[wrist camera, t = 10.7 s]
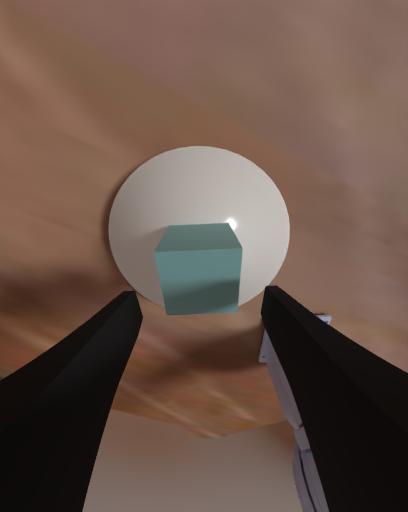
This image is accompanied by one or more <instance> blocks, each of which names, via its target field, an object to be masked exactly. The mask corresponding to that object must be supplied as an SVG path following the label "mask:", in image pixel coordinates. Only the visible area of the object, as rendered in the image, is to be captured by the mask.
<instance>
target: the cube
mask: <svg viewBox="0 0 408 512" xmlns="http://www.w3.org/2000/svg"><path fill="white" fill-rule="evenodd" d="M242 251H243V248H242V246H241V244H240V242H239V241H238V239H237V237H236V235H235V233H234V231H233V230H232V228H231V226H230V224H229V223H213V224H191V225H169V226H168V228H167V230H166V232H165V233H164V235H163V237H162V239H161V240H160V242H159V244H158V245H157V247H156V249H155V251H154V256H155V261H156V266H157V270H158V275H159V280H160V285H161V289H162V294H163V299H164V304H165V308H166V313H167V315H184V314H207V313H229V312H238V300H239V287H240V275H241V263H242Z"/></svg>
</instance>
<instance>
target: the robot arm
mask: <svg viewBox="0 0 408 512" xmlns="http://www.w3.org/2000/svg"><path fill="white" fill-rule="evenodd" d="M261 316H262V319H263V323H264V326H265V331H264V335H263V340H262V345H261V349H260V354H259V362H262V363H263V362H266V364H267V367H268V370H269V373H270V376H271V378H272V381H273V384H274V387H275V390H276V393H277V396H278V399H279V402H280V405H281V408H282V410H283V412H284V414H285V416H286V418H287V420H288V421H289V422H290V424H291V425H292V426H293V427H294V428H295V429H296V430H294V431H293V432H294V435H295V437H296V440H297V443H296V444H295V445H294V448H293V461H292V462H293V463H292V465H293V474H294V480H295V485H296V489H297V493H298V497H299V500H300V503H301V507H302V510H303V512H408V373H406V372H405V371H403V370H401V369H399V368H398V367H396V366H394V365H392V364H390V363H389V362H387V361H385V360H383V359H382V358H380V357H378V356H377V355H375V354H373V353H372V352H370V351H368V350H367V349H365V348H364V347H362V346H360V345H359V344H357V343H356V342H354V341H352V340H351V339H349V338H348V337H346V336H345V335H343V334H342V333H340V332H339V331H337V330H336V329H334V328H333V327H331V326H330V325H329V323H330V321H331V317H330V315H314V314H313V313H312V312H310V311H309V310H308V309H306V308H305V307H304V306H303V305H301V304H300V303H299V302H297V301H296V300H295V299H294V298H292V297H291V296H290V295H288V294H287V293H286V292H285V291H283V290H282V289H281V288H279V287H278V286H265V292H264V297H263V303H262V308H261ZM142 319H143V316H142V312H141V309H140V306H139V302H138V299H137V296H136V292H135V291H124V292H122V293H121V294H120V295H118V296H117V297H116V298H115V299H113V300H112V301H111V302H110V303H109V304H107V305H106V306H105V307H104V308H102V309H101V310H100V311H99V312H98V313H96V314H95V315H94V316H93V317H91V318H90V319H89V320H88V321H86V322H85V323H84V324H82V325H81V326H80V327H78V328H77V329H76V330H75V331H73V332H72V333H71V334H69V335H68V336H67V337H65V338H64V339H63V340H61V341H60V342H59V343H57V344H56V345H54V346H53V347H51V348H50V349H49V350H47V351H46V352H44V353H43V354H41V355H40V356H38V357H37V358H35V359H34V360H32V361H31V362H29V363H28V364H26V365H25V366H23V367H22V368H20V369H18V370H17V371H15V372H14V373H12V374H10V375H9V376H7V377H6V378H4V379H2V380H1V381H0V512H82V510H83V506H84V502H85V498H86V493H87V490H88V486H89V482H90V478H91V475H92V471H93V467H94V463H95V460H96V456H97V453H98V449H99V445H100V442H101V438H102V435H103V431H104V428H105V425H106V421H107V418H108V414H109V412H110V409H111V405H112V402H113V399H114V396H115V393H116V390H117V387H118V384H119V382H120V379H121V377H122V374H123V372H124V369H125V367H126V364H127V362H128V359H129V357H130V355H131V352H132V350H133V347H134V345H135V342H136V340H137V337H138V334H139V330H140V327H141V323H142Z"/></svg>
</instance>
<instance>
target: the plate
mask: <svg viewBox="0 0 408 512" xmlns="http://www.w3.org/2000/svg"><path fill="white" fill-rule="evenodd" d="M213 223H229V224H230V226H231V228H232V230H233V231H234V233H235V235H236V237H237V239H238V241H239V242H240V244H241V246H242V248H243V251H242V263H241V275H240V287H239V300H238V306H240V305H242V304H244V303H246V302H247V301H249V300H251V299H252V298H254V297H255V296H256V295H258V294H259V293H260V292H261V291H263V290H264V289H265V286H268V285H269V284H270V282H271V281H272V280H273V278H274V277H275V276H276V274H277V273H278V271H279V269H280V268H281V266H282V263H283V261H284V259H285V256H286V253H287V249H288V244H289V238H290V224H289V216H288V212H287V208H286V205H285V202H284V200H283V198H282V196H281V193H280V191H279V190H278V188H277V187H276V185H275V184H274V182H273V181H272V180H271V179H270V178H269V177H268V175H267V174H266V173H265V172H264V171H263V170H262V169H260V168H259V167H258V166H257V165H255V164H254V163H253V162H251V161H249V160H248V159H246V158H244V157H242V156H240V155H238V154H236V153H233V152H230V151H228V150H225V149H220V148H214V147H206V146H191V147H183V148H177V149H174V150H170V151H167V152H164V153H162V154H160V155H157V156H155V157H153V158H151V159H150V160H148V161H147V162H145V163H144V164H142V165H141V166H139V167H138V168H137V169H136V170H135V171H134V172H133V173H132V174H131V175H130V176H129V177H128V178H127V180H126V181H125V182H124V184H123V185H122V186H121V188H120V190H119V192H118V194H117V195H116V197H115V200H114V203H113V205H112V208H111V212H110V218H109V233H108V234H109V242H110V247H111V251H112V255H113V257H114V260H115V262H116V264H117V266H118V268H119V270H120V271H121V273H122V275H123V276H124V277H125V279H126V280H127V281H128V283H129V284H130V285H131V286H132V287H133V288H134V289H135V290H136V291H138V292H139V293H140V294H141V295H142V296H144V297H145V298H147V299H148V300H150V301H152V302H154V303H155V304H157V305H159V306H162V307H164V308H165V304H164V299H163V294H162V289H161V285H160V280H159V275H158V270H157V266H156V261H155V256H154V251H155V249H156V247H157V245H158V244H159V242H160V240H161V239H162V237H163V235H164V233H165V232H166V230H167V228H168V226H169V225H191V224H213ZM207 314H211V313H207Z"/></svg>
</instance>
